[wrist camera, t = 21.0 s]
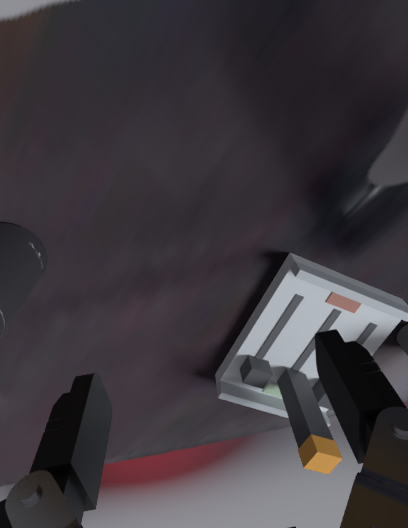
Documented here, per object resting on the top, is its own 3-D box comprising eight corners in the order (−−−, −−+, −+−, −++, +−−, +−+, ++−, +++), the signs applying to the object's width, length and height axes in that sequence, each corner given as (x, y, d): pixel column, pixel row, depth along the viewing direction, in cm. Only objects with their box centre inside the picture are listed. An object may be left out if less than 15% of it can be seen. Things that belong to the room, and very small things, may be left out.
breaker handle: (295, 388, 61) (328, 474, 48) (276, 381, 60) (303, 468, 47) (306, 373, 60) (342, 458, 47) (286, 367, 59) (317, 452, 46)
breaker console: (316, 405, 67) (328, 431, 62) (215, 374, 62) (218, 400, 57) (401, 298, 58) (422, 320, 53) (289, 252, 53) (301, 271, 48)
